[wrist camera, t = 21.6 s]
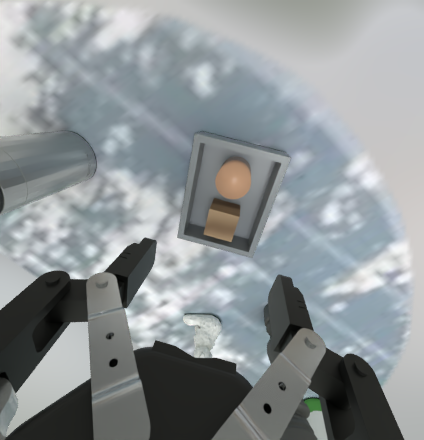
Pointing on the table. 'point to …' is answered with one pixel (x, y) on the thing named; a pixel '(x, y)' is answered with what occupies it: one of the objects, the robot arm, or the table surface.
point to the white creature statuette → (203, 333)
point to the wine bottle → (316, 418)
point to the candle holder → (298, 426)
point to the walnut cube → (222, 220)
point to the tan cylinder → (234, 178)
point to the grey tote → (206, 191)
